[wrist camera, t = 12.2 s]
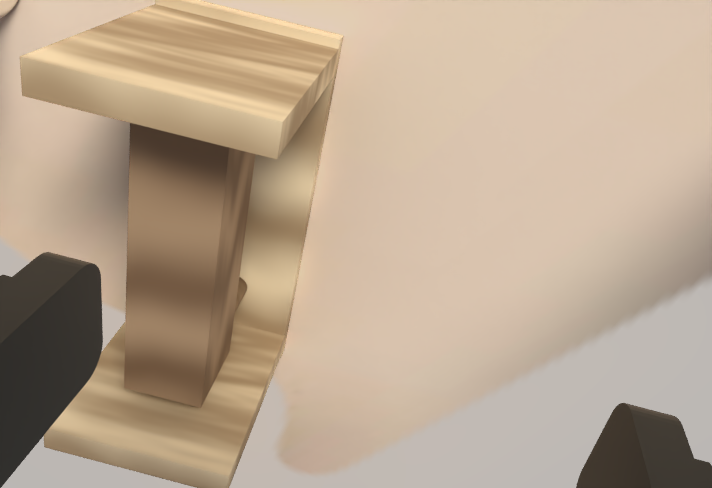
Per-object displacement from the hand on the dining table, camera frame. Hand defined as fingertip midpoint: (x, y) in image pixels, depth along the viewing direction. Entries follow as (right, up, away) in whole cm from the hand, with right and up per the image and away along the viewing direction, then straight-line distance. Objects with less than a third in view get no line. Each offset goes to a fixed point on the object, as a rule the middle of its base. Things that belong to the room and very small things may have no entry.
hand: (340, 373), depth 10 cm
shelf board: (-8, +3, +26) cm, 27 cm away
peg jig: (-7, +5, +30) cm, 32 cm away
